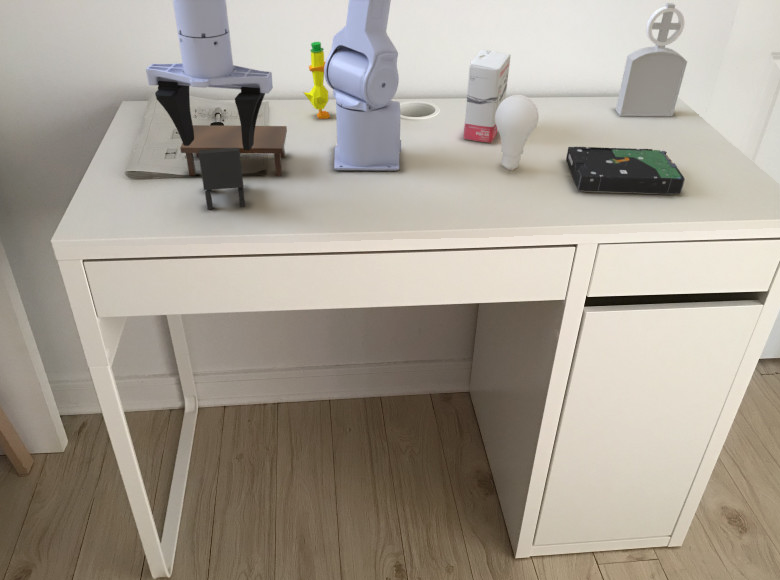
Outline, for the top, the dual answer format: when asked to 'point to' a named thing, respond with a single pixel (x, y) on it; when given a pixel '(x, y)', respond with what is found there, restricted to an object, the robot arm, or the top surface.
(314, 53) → the toy figure
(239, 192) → the chair
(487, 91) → the ink box
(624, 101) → the gravestone
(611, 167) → the disk drive
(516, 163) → the lightbulb
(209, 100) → the top surface
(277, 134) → the brown toy table
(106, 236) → the top surface
